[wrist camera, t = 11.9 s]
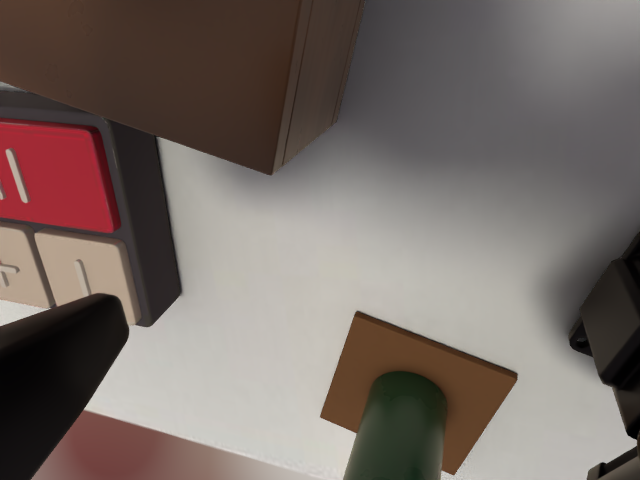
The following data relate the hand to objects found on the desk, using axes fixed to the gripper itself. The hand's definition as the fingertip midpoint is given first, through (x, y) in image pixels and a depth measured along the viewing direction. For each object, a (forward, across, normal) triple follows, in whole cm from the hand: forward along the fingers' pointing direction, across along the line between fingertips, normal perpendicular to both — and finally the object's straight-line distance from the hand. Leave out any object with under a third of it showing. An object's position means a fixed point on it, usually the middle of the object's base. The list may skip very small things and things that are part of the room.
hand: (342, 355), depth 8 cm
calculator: (+12, +20, +4) cm, 24 cm away
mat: (+12, 0, +13) cm, 18 cm away
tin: (+12, 0, +13) cm, 17 cm away
